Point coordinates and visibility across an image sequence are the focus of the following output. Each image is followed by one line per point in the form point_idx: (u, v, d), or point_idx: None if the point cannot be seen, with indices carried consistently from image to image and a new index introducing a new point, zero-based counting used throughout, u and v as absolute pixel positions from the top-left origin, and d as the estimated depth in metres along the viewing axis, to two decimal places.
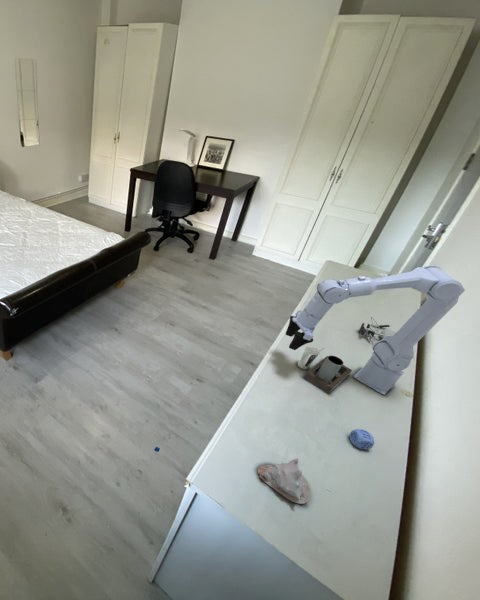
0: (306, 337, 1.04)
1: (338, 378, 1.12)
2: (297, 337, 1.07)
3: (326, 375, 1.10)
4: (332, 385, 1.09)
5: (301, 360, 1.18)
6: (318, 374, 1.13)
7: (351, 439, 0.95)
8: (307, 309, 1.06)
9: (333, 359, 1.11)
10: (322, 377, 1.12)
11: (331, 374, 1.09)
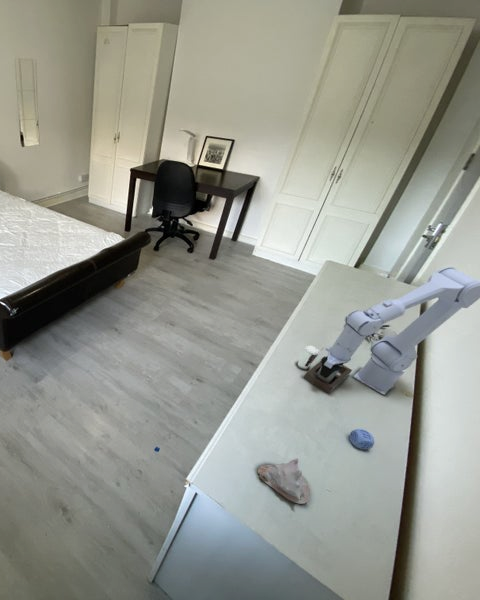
0: (326, 364, 1.04)
1: (338, 378, 1.12)
2: (322, 362, 1.08)
3: None
4: (332, 385, 1.09)
5: (301, 360, 1.18)
6: (318, 374, 1.13)
7: (351, 439, 0.95)
8: (341, 343, 1.03)
9: None
10: (322, 377, 1.12)
11: (331, 374, 1.09)
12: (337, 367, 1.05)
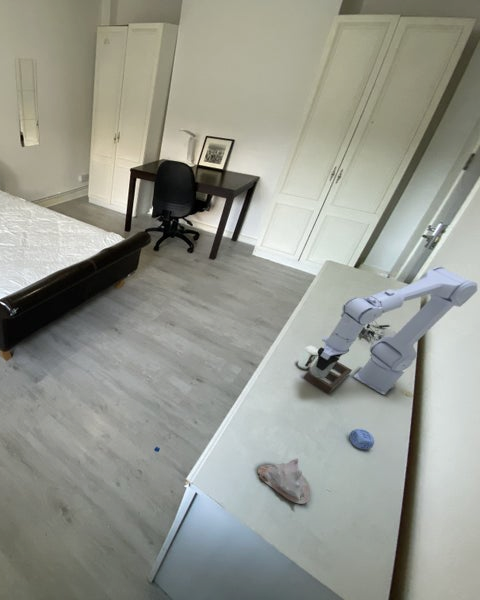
0: (323, 355, 0.98)
1: (338, 378, 1.12)
2: (319, 353, 1.02)
3: None
4: (332, 385, 1.09)
5: (301, 360, 1.18)
6: (314, 366, 1.07)
7: (351, 439, 0.95)
8: (340, 333, 0.97)
9: None
10: (318, 370, 1.05)
11: (328, 366, 1.03)
12: (334, 358, 0.99)
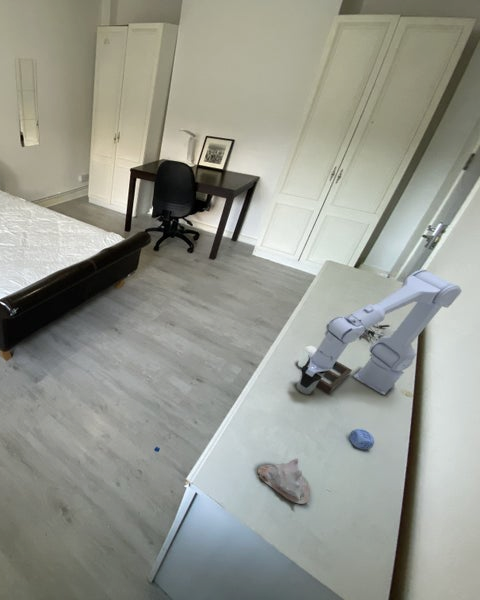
0: (307, 372, 1.01)
1: (338, 378, 1.12)
2: (302, 371, 1.04)
3: None
4: (332, 385, 1.09)
5: (301, 360, 1.18)
6: None
7: (351, 439, 0.95)
8: (324, 351, 0.99)
9: None
10: None
11: (313, 383, 1.06)
12: (317, 377, 1.01)
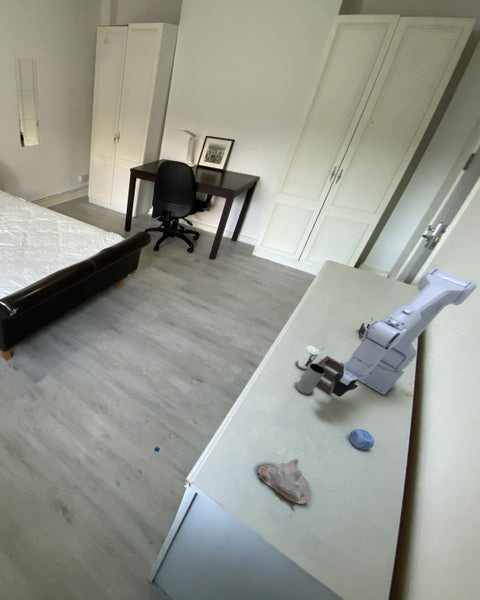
0: (342, 380, 0.93)
1: None
2: (335, 379, 0.96)
3: (308, 384, 1.07)
4: (332, 385, 1.09)
5: (301, 360, 1.18)
6: (300, 382, 1.09)
7: (351, 439, 0.95)
8: (364, 360, 0.91)
9: (315, 367, 1.07)
10: (304, 386, 1.08)
11: (313, 383, 1.06)
12: (353, 385, 0.93)
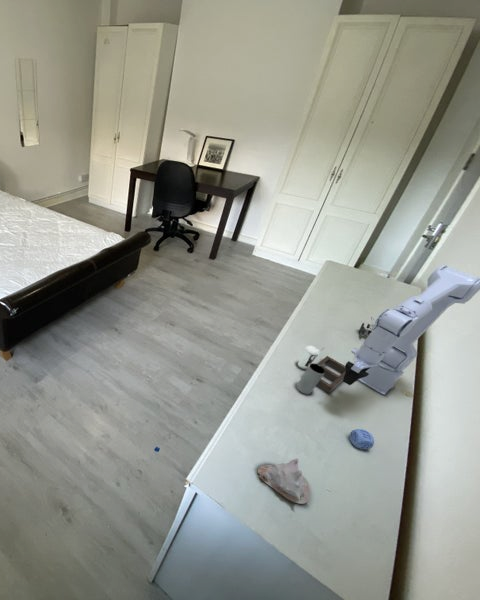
0: (353, 368, 0.94)
1: (338, 378, 1.12)
2: (346, 367, 0.97)
3: (308, 384, 1.07)
4: (332, 385, 1.09)
5: (301, 360, 1.18)
6: (300, 382, 1.09)
7: (351, 439, 0.95)
8: (375, 348, 0.92)
9: (315, 367, 1.07)
10: (304, 386, 1.08)
11: (313, 383, 1.06)
12: (364, 373, 0.94)
